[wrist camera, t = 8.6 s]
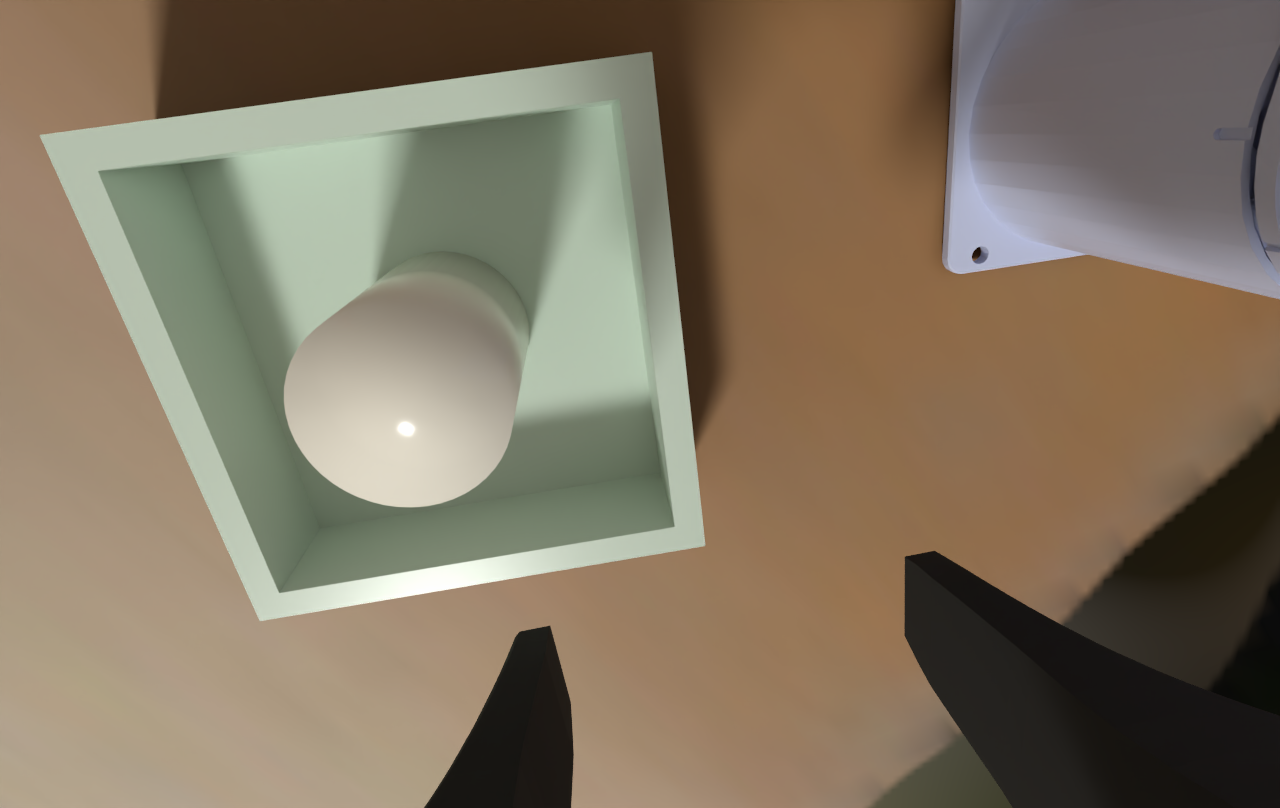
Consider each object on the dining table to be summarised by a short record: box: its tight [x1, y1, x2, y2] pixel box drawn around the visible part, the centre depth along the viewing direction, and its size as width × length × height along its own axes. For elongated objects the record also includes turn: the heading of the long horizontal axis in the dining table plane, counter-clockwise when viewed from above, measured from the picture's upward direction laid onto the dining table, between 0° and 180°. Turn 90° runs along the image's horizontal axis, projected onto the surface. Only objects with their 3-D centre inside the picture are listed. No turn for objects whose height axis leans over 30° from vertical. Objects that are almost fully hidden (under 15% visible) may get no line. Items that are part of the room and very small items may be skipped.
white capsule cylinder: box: [284, 252, 529, 507], centre depth 16 cm, size 4×4×6 cm
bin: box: [40, 52, 705, 621], centre depth 18 cm, size 13×13×4 cm
